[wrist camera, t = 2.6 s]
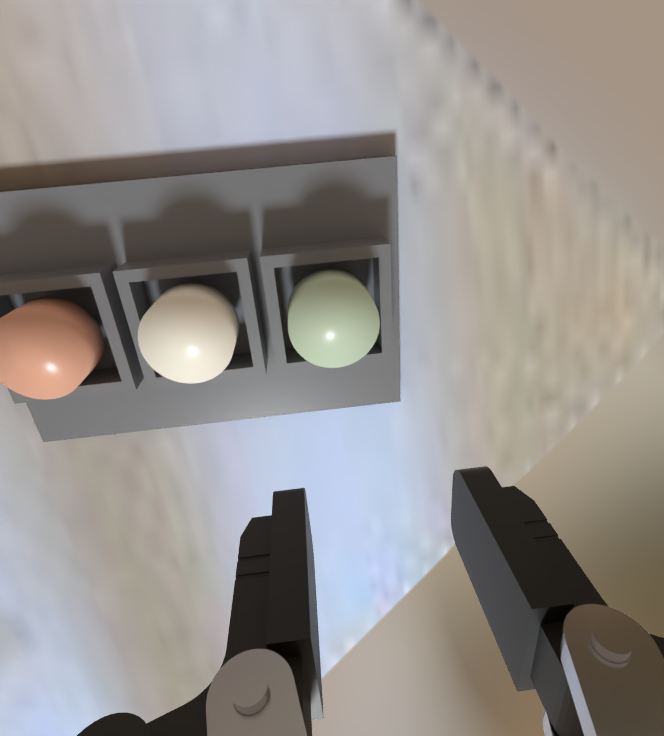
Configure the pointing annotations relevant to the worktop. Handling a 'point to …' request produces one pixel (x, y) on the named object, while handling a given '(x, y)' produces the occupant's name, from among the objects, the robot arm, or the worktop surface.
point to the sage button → (332, 318)
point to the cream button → (189, 333)
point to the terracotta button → (48, 347)
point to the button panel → (211, 267)
